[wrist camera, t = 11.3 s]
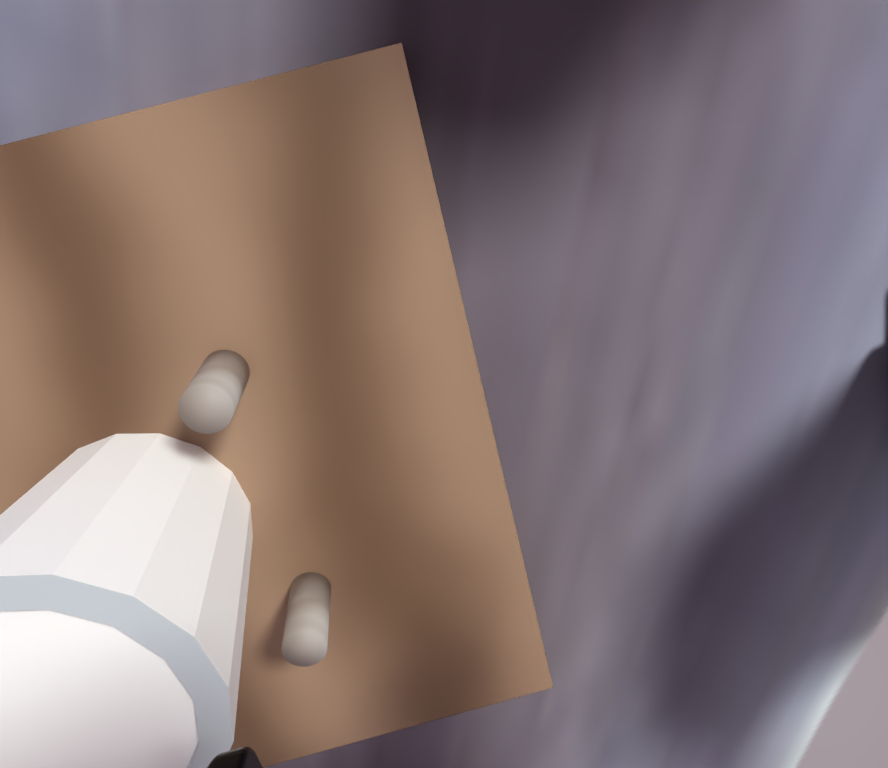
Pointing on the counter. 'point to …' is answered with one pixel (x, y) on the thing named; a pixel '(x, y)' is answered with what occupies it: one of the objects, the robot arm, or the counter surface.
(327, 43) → the counter surface
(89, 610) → the shot glass
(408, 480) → the pin plate
